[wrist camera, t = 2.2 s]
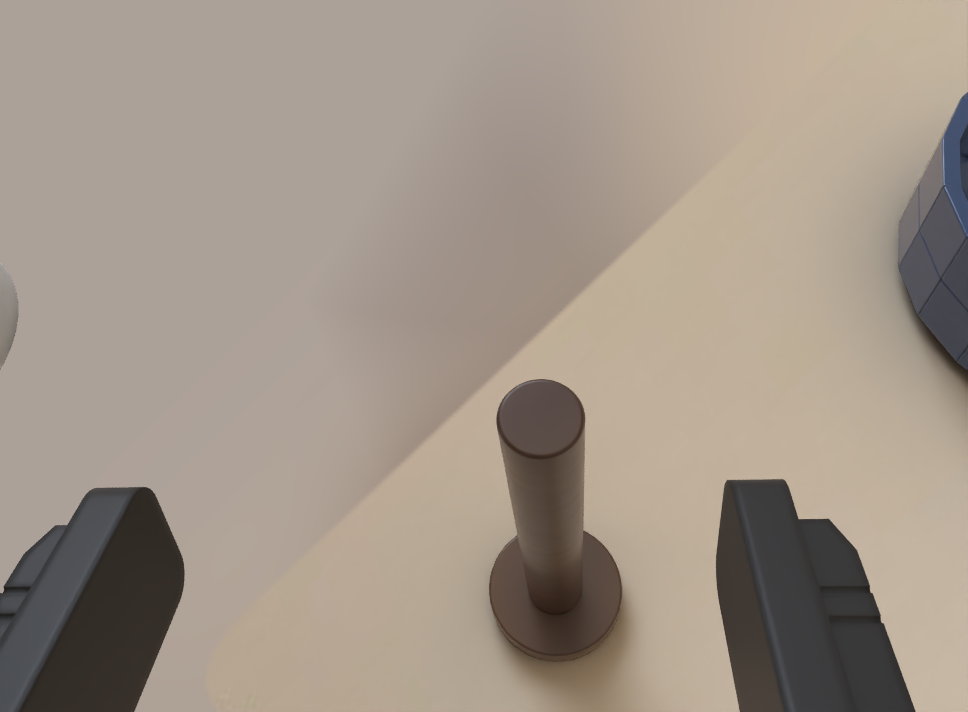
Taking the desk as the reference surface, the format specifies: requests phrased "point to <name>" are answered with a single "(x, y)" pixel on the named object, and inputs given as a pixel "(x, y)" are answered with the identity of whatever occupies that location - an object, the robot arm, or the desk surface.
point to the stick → (550, 531)
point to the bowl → (940, 239)
